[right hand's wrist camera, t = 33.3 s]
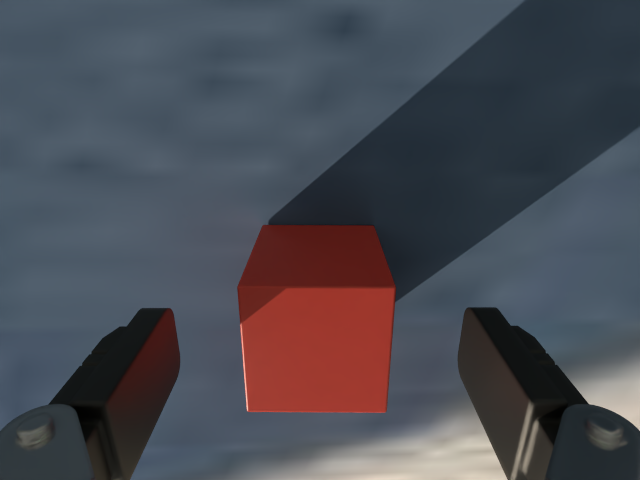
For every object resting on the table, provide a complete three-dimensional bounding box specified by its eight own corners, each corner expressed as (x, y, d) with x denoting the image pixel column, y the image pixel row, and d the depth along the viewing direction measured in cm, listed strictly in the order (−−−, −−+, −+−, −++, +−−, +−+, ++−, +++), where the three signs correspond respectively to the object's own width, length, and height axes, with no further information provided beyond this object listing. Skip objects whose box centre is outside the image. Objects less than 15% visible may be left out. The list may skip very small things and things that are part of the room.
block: (267, 322, 17) (246, 412, 12) (262, 224, 15) (237, 286, 11) (369, 322, 17) (386, 413, 12) (374, 225, 15) (396, 287, 11)
